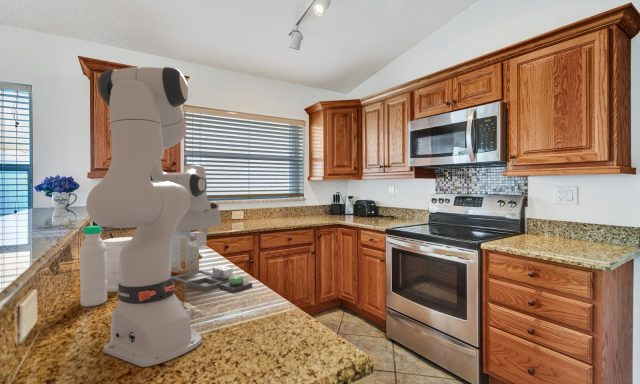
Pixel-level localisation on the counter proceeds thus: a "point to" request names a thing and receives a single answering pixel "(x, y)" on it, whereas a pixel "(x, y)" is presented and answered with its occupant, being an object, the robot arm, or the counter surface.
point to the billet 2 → (222, 273)
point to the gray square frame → (189, 274)
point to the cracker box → (183, 254)
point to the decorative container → (114, 261)
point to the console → (235, 286)
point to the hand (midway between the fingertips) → (197, 240)
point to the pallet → (206, 283)
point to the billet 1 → (198, 239)
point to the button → (235, 280)
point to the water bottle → (93, 268)
